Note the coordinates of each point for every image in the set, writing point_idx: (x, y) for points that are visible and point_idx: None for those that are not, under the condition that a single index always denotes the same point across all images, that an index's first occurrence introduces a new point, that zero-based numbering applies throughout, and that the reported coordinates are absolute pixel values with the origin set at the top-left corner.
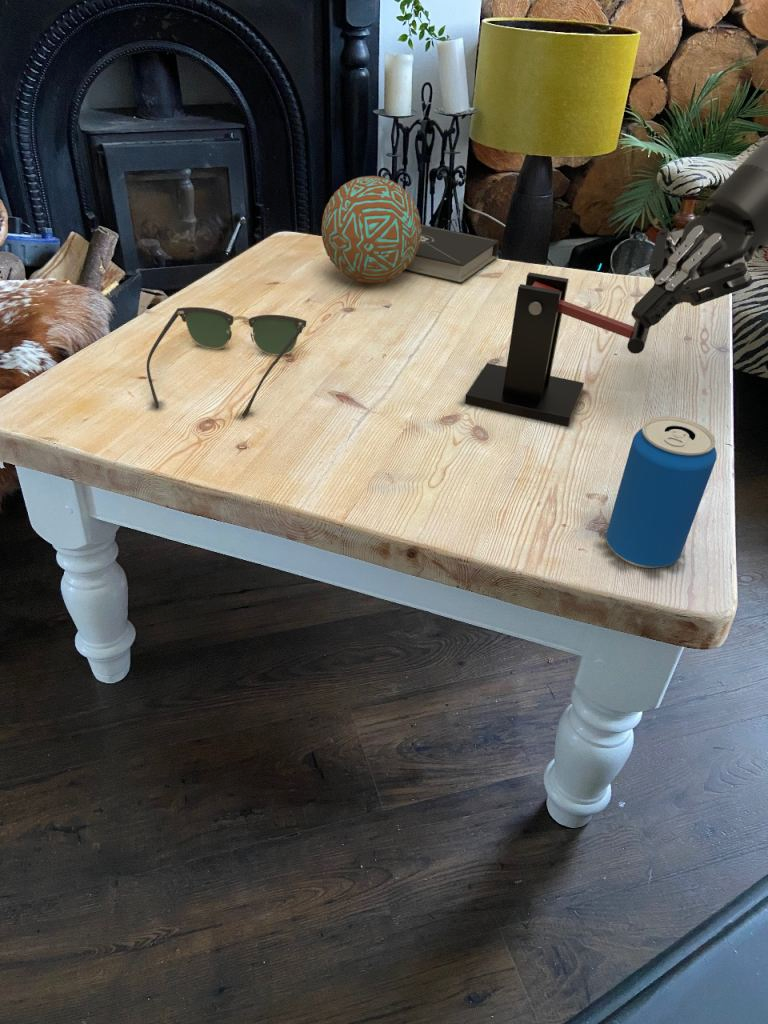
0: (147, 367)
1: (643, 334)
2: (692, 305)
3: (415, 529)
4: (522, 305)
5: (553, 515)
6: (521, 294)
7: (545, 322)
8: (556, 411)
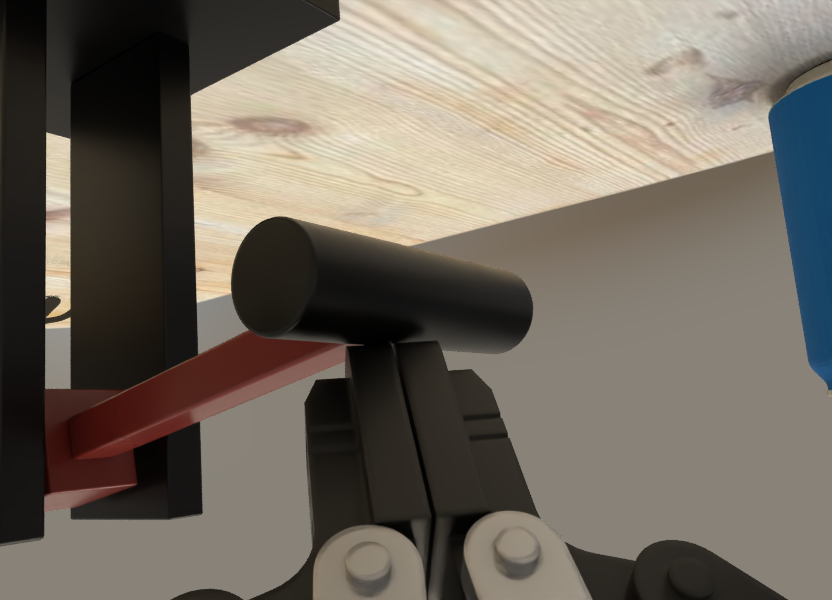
0: None
1: (473, 340)
2: (671, 542)
3: (499, 214)
4: None
5: (634, 125)
6: None
7: None
8: (281, 34)
